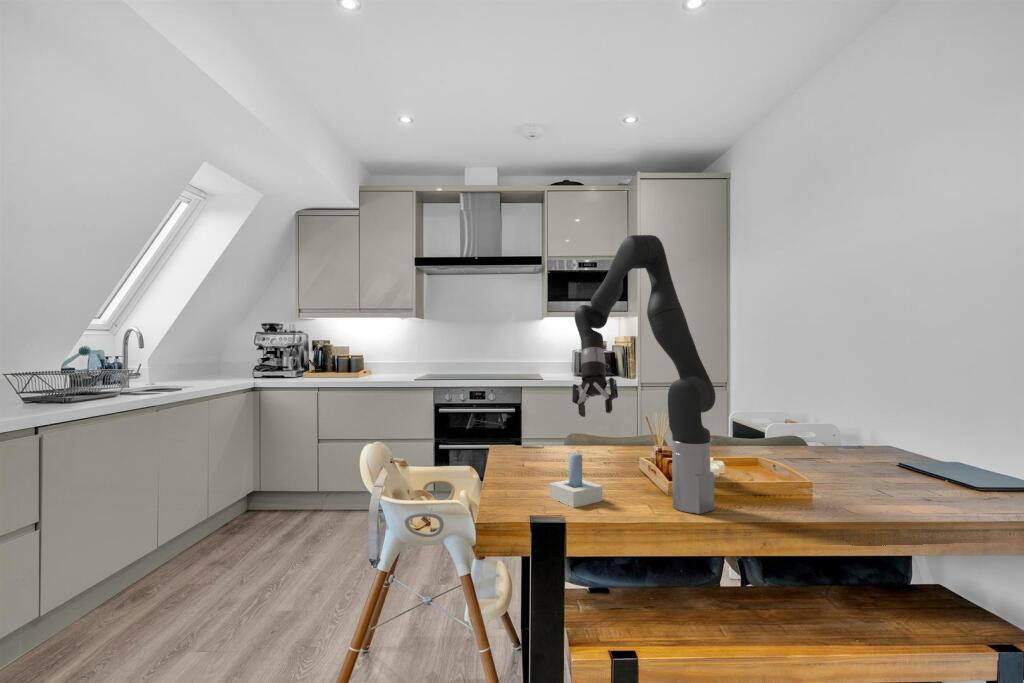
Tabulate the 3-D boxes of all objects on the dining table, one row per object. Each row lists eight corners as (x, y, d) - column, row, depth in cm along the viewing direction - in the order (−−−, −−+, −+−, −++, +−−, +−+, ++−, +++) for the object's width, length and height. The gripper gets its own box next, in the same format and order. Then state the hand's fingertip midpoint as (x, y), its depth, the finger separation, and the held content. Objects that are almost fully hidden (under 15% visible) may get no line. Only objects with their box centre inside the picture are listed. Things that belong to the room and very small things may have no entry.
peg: (585, 499, 141) (584, 455, 141) (574, 502, 139) (574, 457, 139) (576, 496, 144) (576, 453, 144) (566, 498, 142) (566, 454, 142)
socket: (602, 500, 140) (602, 486, 140) (573, 507, 134) (573, 492, 134) (578, 491, 148) (578, 477, 148) (550, 497, 143) (549, 483, 143)
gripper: (567, 365, 165) (568, 415, 159) (608, 356, 157) (611, 408, 151) (578, 371, 170) (580, 420, 164) (619, 363, 163) (622, 414, 157)
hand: (595, 414), depth 158 cm, fingers open, 8 cm apart
